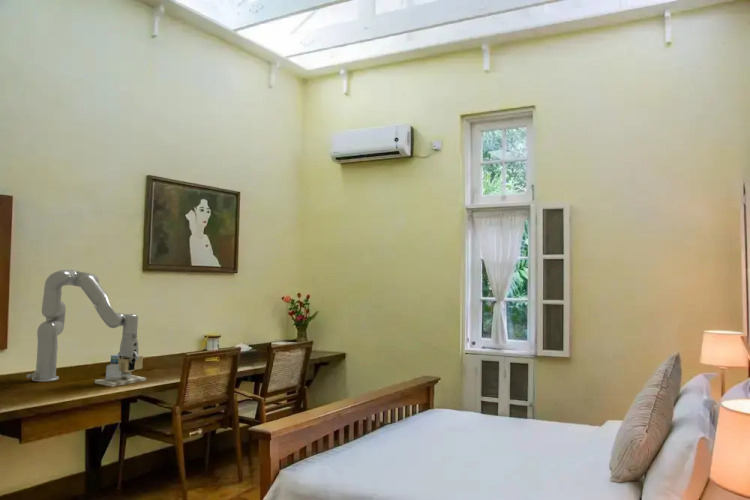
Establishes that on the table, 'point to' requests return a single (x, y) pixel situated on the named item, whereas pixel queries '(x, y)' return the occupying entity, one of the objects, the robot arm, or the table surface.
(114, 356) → the light bulb box
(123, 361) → the tan piece
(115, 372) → the steel hinge leaf
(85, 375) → the table surface
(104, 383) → the white mounting board
